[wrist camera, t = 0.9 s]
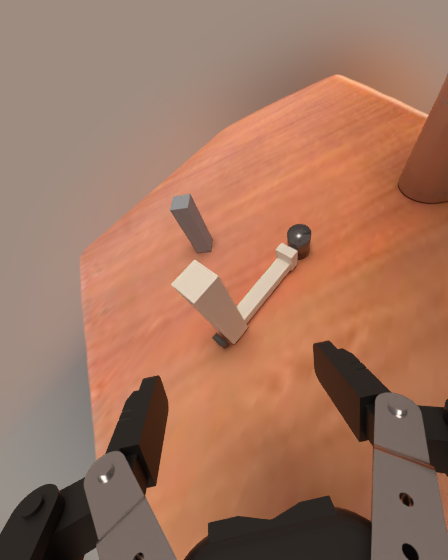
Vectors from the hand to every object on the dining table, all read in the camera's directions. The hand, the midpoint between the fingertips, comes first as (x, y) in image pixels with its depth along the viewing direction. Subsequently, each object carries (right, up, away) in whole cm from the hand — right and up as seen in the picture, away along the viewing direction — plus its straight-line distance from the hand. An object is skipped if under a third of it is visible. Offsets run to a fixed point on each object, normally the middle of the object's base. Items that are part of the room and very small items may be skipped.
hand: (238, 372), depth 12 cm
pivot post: (+12, +10, +29) cm, 33 cm away
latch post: (-5, +12, +35) cm, 38 cm away
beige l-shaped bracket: (+5, +1, +26) cm, 27 cm away
